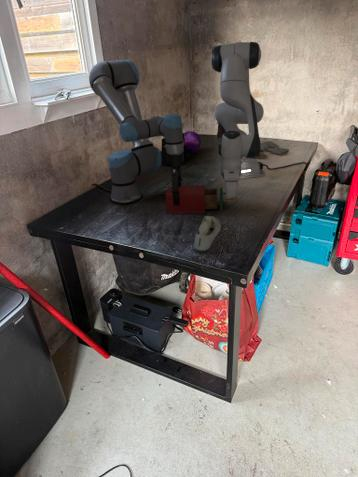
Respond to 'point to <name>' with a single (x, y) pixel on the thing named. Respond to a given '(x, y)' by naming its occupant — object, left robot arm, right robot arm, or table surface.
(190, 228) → the table surface
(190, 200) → the dark red block
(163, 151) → the handbag
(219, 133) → the boot
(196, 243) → the ballet flat
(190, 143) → the decorative orb
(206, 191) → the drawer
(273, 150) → the pair of gloves
